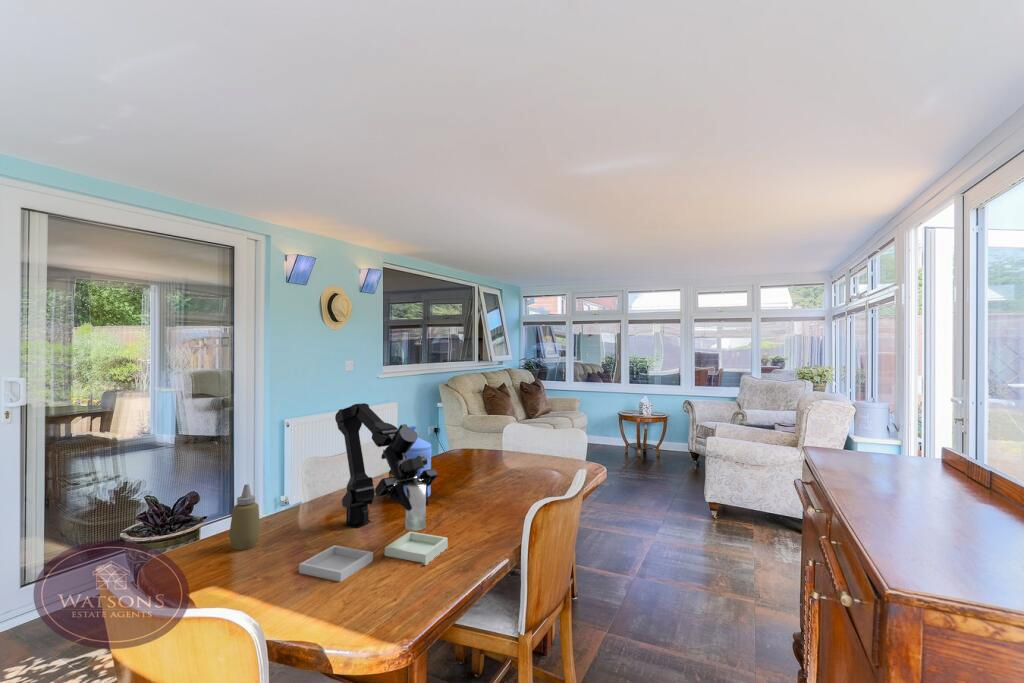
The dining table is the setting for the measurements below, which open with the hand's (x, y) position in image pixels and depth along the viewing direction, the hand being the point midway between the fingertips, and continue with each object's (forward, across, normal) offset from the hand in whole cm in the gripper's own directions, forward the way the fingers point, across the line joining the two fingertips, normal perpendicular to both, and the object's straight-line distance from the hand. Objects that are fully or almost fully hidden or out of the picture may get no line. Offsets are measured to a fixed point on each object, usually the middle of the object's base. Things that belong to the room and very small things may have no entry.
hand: (418, 507), depth 135 cm
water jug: (-25, +31, +44) cm, 60 cm away
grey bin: (+4, -20, +15) cm, 25 cm away
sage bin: (+9, +1, +10) cm, 14 cm away
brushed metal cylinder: (+3, 0, +5) cm, 6 cm away
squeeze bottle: (-18, -33, +38) cm, 54 cm away
